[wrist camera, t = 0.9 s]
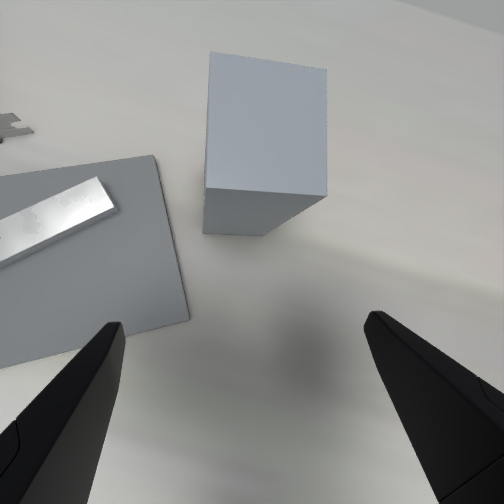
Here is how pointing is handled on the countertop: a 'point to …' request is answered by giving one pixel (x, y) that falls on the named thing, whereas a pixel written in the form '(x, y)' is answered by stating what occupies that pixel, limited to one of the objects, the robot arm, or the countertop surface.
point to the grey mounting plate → (84, 257)
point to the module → (262, 143)
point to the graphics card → (3, 129)
